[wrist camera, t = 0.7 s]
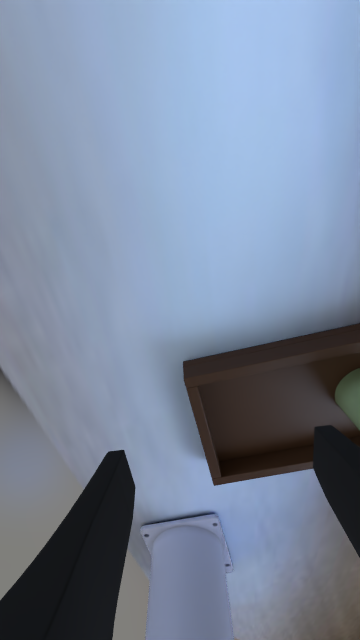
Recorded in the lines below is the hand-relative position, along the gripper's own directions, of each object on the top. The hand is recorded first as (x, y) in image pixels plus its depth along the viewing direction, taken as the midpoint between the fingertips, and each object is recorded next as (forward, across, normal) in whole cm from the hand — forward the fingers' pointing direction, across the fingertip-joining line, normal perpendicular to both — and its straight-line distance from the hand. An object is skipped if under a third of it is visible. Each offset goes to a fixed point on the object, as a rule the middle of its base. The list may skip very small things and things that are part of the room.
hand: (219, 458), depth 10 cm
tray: (+10, -12, +6) cm, 16 cm away
